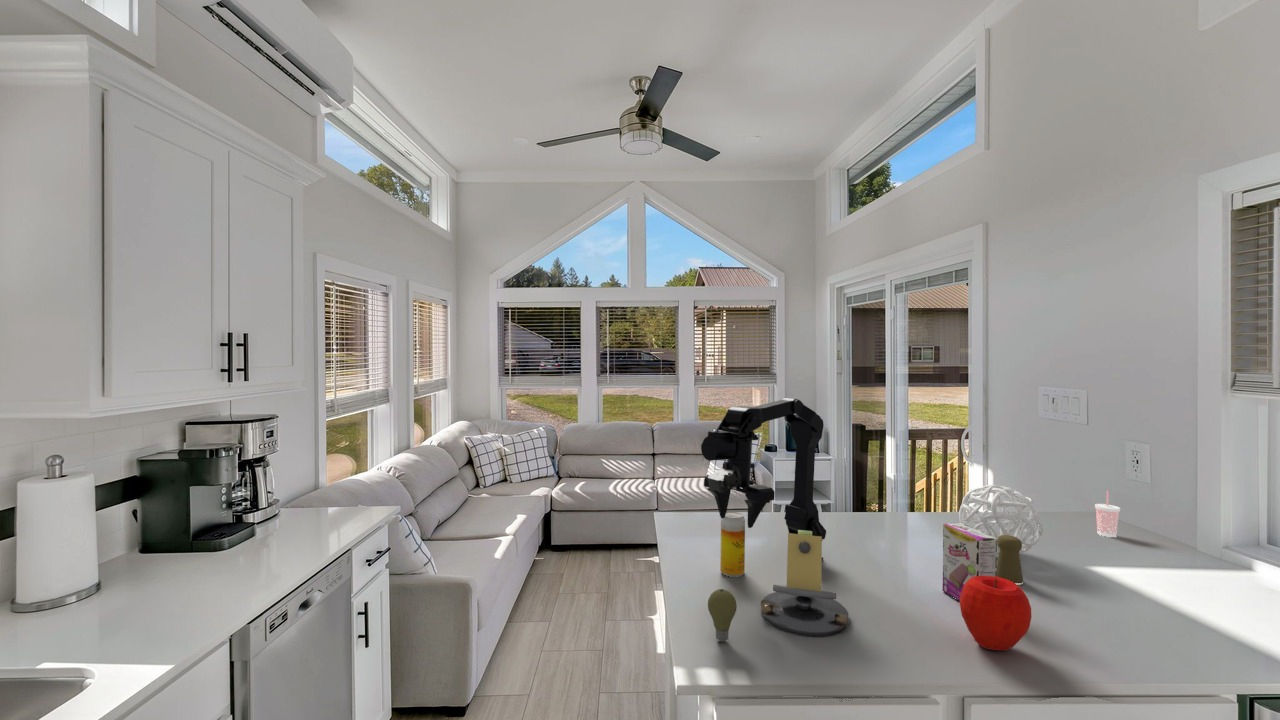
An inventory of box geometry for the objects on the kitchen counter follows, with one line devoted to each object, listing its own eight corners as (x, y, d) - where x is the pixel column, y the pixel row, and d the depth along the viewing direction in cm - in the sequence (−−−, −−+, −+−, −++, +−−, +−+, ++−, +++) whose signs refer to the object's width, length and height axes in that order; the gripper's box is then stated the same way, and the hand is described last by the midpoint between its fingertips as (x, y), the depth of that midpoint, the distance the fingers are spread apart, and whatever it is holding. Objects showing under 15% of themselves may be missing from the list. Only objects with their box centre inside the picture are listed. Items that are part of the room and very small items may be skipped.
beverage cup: (1089, 531, 177) (1090, 487, 177) (1110, 532, 176) (1111, 488, 176) (1102, 537, 171) (1103, 492, 171) (1124, 538, 170) (1125, 493, 170)
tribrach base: (765, 590, 132) (765, 576, 131) (846, 601, 126) (846, 586, 126) (756, 628, 114) (756, 611, 114) (850, 643, 108) (851, 625, 108)
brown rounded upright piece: (1020, 578, 140) (1021, 534, 140) (1025, 587, 135) (1026, 542, 134) (992, 573, 143) (993, 531, 142) (996, 582, 137) (997, 538, 137)
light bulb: (704, 634, 111) (705, 584, 111) (732, 633, 112) (732, 583, 112) (710, 649, 106) (711, 597, 105) (739, 648, 106) (740, 596, 106)
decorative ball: (1053, 573, 143) (1055, 499, 143) (965, 563, 149) (967, 492, 149) (1027, 547, 162) (1028, 482, 162) (950, 539, 168) (951, 476, 168)
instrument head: (774, 589, 127) (776, 529, 132) (835, 597, 123) (835, 535, 128) (770, 591, 116) (773, 526, 120) (837, 601, 112) (837, 532, 116)
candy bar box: (940, 592, 132) (941, 522, 131) (959, 590, 132) (960, 522, 132) (976, 614, 121) (978, 538, 120) (997, 612, 121) (998, 537, 121)
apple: (1003, 670, 99) (1004, 596, 99) (944, 639, 110) (945, 571, 110) (1045, 656, 104) (1046, 585, 104) (984, 627, 115) (985, 563, 115)
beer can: (744, 579, 138) (744, 519, 138) (719, 577, 139) (720, 517, 139) (744, 569, 144) (745, 512, 144) (720, 567, 145) (721, 510, 145)
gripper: (689, 454, 139) (685, 516, 139) (744, 467, 124) (740, 537, 124) (721, 452, 146) (718, 512, 145) (777, 464, 130) (774, 531, 130)
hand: (735, 522), depth 136 cm, fingers open, 9 cm apart
